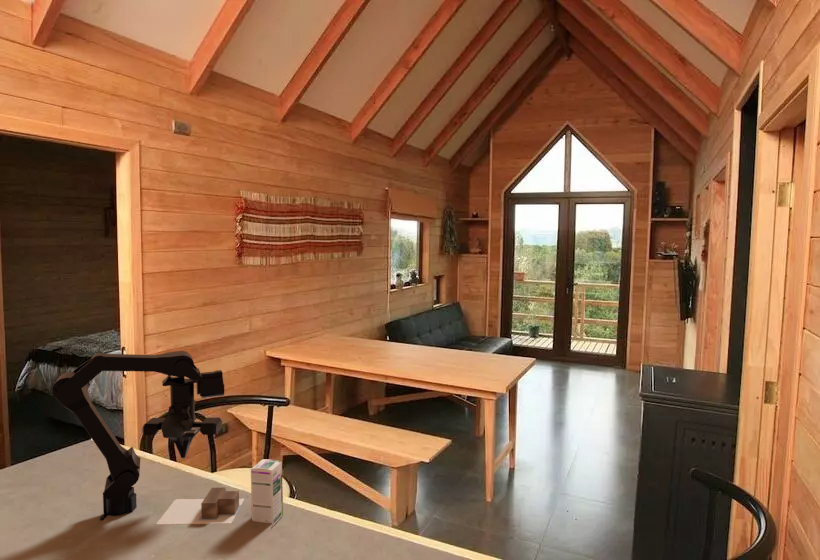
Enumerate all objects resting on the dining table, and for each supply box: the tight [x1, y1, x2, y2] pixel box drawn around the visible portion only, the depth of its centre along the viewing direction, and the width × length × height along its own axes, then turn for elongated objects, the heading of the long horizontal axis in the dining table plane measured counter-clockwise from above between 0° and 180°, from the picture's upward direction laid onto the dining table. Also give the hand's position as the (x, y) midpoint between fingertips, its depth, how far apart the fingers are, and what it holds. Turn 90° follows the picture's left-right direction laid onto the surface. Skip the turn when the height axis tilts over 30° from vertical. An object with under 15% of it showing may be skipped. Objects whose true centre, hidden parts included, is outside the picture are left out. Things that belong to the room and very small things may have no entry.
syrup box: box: [250, 459, 284, 528], centre depth 130 cm, size 6×6×14 cm
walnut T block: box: [201, 487, 240, 519], centre depth 133 cm, size 8×8×4 cm
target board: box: [155, 498, 245, 525], centre depth 132 cm, size 18×12×1 cm, turn 93°
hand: (183, 457), depth 138 cm, fingers closed
